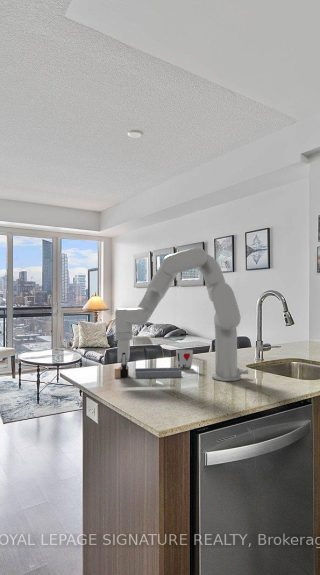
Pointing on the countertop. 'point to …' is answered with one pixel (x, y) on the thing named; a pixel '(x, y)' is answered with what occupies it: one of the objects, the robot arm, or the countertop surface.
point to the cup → (184, 359)
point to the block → (117, 372)
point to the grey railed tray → (157, 372)
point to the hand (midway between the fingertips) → (124, 376)
